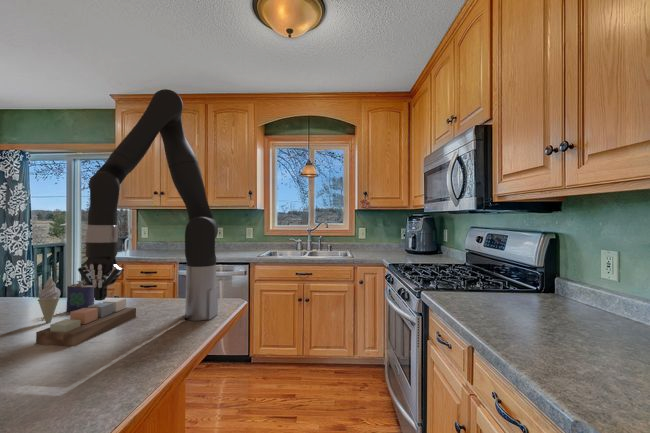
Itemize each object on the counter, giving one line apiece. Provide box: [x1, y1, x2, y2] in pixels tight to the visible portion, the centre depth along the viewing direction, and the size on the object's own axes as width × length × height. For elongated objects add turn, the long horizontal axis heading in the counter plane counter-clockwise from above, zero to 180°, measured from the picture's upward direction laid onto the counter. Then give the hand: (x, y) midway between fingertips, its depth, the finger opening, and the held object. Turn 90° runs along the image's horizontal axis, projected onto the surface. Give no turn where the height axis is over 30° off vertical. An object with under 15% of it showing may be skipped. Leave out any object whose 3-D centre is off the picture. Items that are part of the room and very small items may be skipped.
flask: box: [65, 280, 95, 313], centre depth 106 cm, size 9×3×11 cm, turn 88°
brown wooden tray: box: [34, 306, 139, 348], centre depth 87 cm, size 11×23×4 cm, turn 175°
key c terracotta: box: [69, 308, 98, 324], centre depth 84 cm, size 4×4×3 cm
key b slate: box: [88, 302, 113, 318], centre depth 90 cm, size 4×4×3 cm
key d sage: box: [49, 318, 81, 333], centre depth 79 cm, size 4×4×3 cm
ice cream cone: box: [37, 275, 61, 324], centre depth 92 cm, size 5×5×15 cm
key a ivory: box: [102, 297, 127, 312], centre depth 95 cm, size 4×4×3 cm
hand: (100, 299), depth 90 cm, fingers closed
